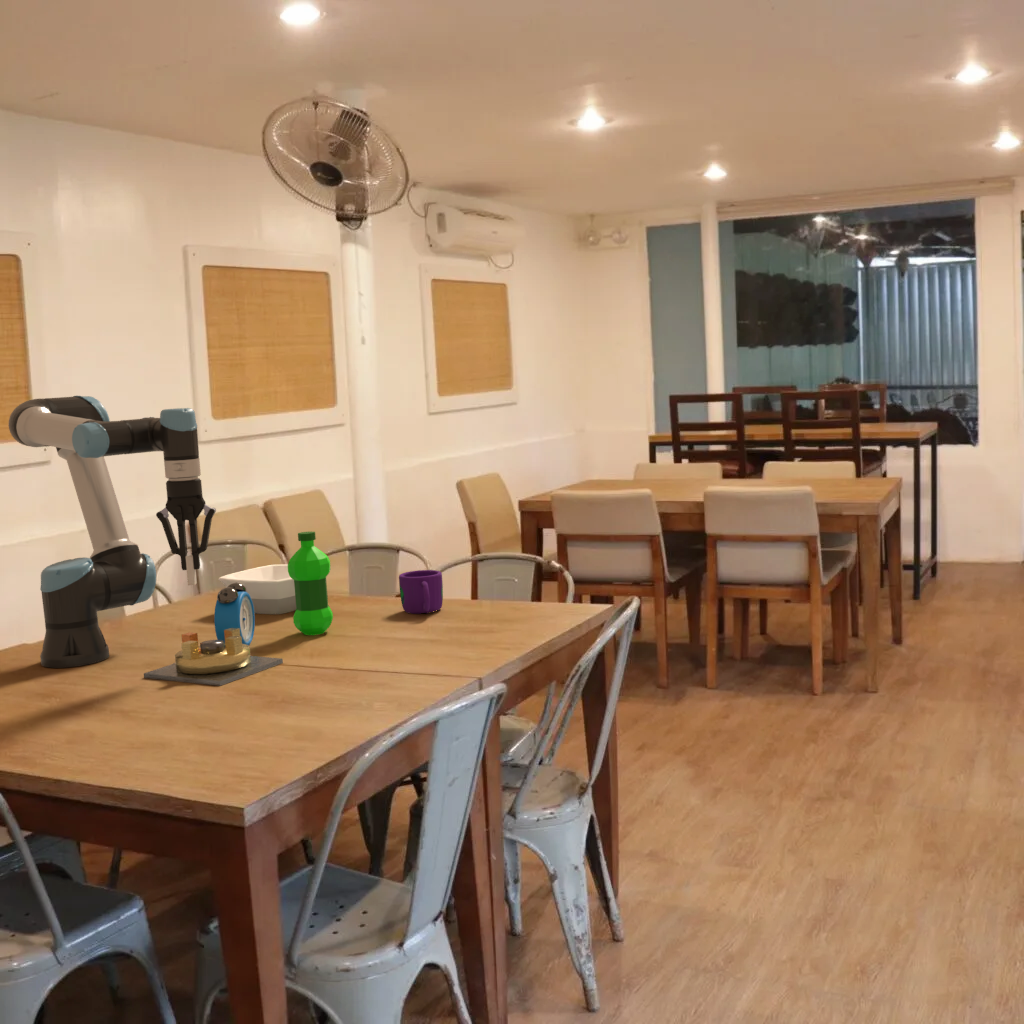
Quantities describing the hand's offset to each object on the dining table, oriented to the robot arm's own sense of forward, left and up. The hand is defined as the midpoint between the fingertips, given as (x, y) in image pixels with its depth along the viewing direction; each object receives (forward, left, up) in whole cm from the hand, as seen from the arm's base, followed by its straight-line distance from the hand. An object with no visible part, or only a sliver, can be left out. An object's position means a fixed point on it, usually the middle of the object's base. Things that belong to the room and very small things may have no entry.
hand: (192, 584), depth 272 cm
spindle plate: (+7, -3, -19) cm, 20 cm away
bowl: (-26, +58, -19) cm, 66 cm away
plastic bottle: (+5, +35, -19) cm, 40 cm away
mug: (+19, +63, -19) cm, 68 cm away
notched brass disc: (+7, -3, -17) cm, 19 cm away
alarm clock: (-4, +17, -19) cm, 26 cm away
